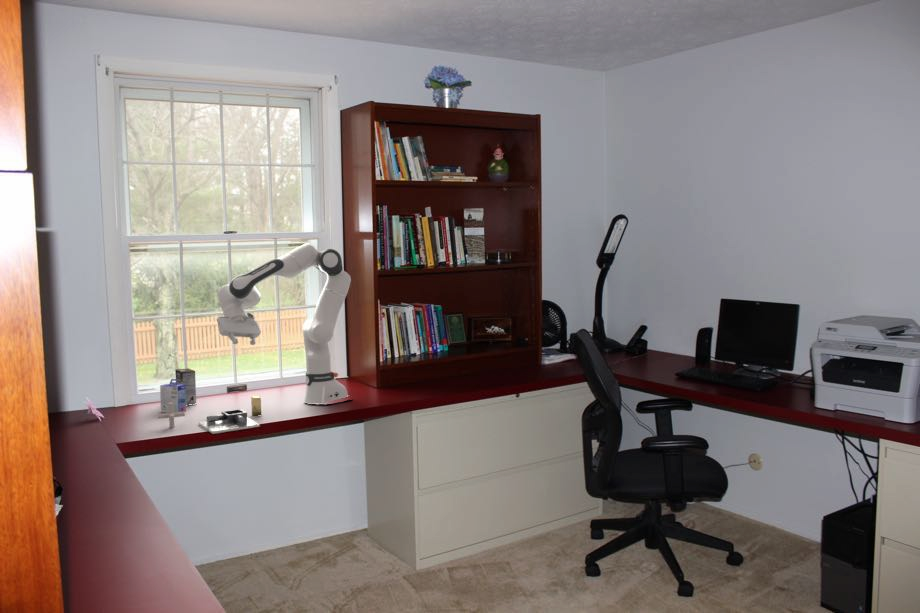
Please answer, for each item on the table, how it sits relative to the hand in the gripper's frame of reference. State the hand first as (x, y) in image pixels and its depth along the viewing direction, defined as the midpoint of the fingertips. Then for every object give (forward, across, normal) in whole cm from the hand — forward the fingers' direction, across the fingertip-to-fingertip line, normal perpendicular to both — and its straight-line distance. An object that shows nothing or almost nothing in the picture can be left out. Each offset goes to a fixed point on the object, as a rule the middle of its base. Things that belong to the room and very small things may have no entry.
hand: (244, 343), depth 325 cm
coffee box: (+3, -1, +48) cm, 48 cm away
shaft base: (+36, -16, +8) cm, 40 cm away
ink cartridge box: (+10, -14, +41) cm, 45 cm away
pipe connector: (+27, -30, +23) cm, 47 cm away
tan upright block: (+30, +2, +10) cm, 32 cm away
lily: (+6, -42, +56) cm, 70 cm away
